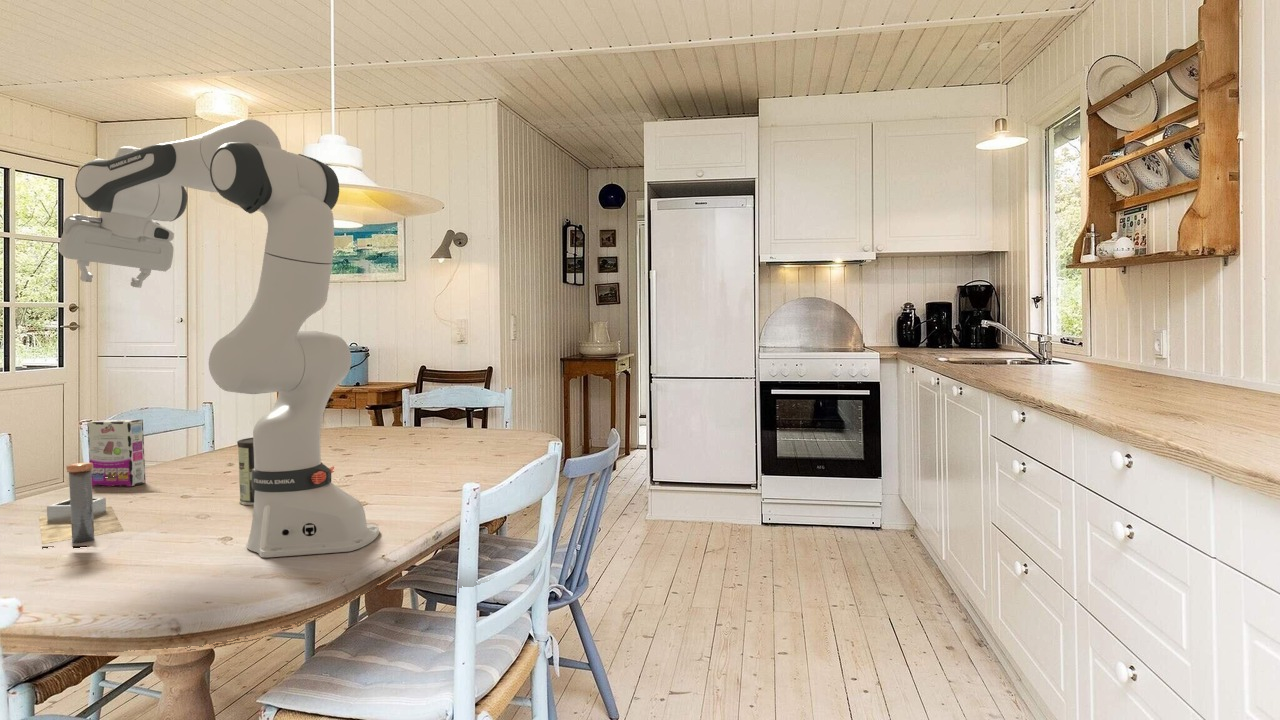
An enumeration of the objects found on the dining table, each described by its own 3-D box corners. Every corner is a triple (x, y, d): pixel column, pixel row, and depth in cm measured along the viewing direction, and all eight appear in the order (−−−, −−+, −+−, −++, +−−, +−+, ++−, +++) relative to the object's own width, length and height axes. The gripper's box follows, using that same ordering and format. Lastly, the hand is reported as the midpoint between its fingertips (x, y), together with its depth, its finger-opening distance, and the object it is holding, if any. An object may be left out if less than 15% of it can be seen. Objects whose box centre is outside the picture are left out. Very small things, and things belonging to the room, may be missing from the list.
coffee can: (299, 495, 167) (298, 436, 166) (268, 507, 157) (266, 443, 156) (261, 493, 169) (259, 435, 168) (228, 504, 159) (226, 442, 158)
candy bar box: (147, 482, 181) (144, 418, 181) (132, 487, 176) (129, 421, 176) (105, 482, 182) (102, 418, 181) (89, 486, 177) (85, 421, 176)
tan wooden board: (124, 535, 136) (123, 530, 136) (42, 549, 128) (41, 543, 128) (111, 510, 154) (111, 506, 154) (39, 521, 146) (39, 516, 146)
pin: (101, 542, 132) (98, 462, 131) (86, 549, 128) (82, 466, 127) (80, 542, 132) (76, 462, 131) (65, 549, 128) (60, 466, 127)
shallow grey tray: (106, 511, 150) (105, 497, 150) (82, 520, 143) (81, 505, 143) (73, 512, 149) (72, 497, 149) (47, 521, 143) (46, 506, 143)
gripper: (73, 216, 141) (59, 282, 143) (182, 235, 159) (168, 293, 161) (60, 208, 144) (46, 272, 146) (168, 227, 162) (155, 285, 164)
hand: (111, 284), depth 154 cm, fingers open, 8 cm apart
